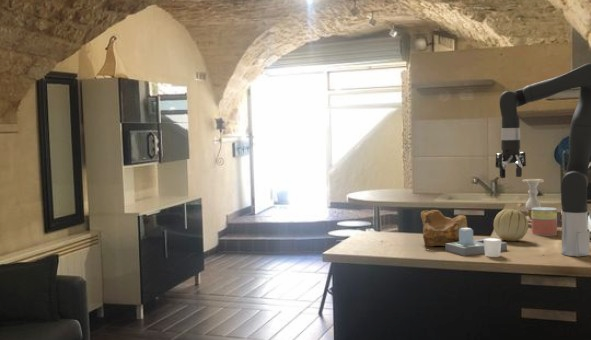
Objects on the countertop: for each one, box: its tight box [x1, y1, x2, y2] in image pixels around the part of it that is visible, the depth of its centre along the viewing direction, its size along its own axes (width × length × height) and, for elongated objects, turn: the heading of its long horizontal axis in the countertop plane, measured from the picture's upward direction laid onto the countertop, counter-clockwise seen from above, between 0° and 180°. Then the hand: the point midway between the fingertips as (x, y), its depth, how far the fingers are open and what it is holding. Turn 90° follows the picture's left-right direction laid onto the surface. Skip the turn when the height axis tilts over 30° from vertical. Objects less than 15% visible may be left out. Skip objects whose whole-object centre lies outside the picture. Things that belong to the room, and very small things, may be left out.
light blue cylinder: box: [459, 227, 474, 246], centre depth 247 cm, size 4×4×10 cm
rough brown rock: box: [420, 209, 469, 248], centre depth 262 cm, size 23×17×15 cm
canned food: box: [531, 206, 558, 237], centre depth 285 cm, size 11×11×12 cm
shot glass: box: [482, 237, 502, 258], centre depth 238 cm, size 7×7×7 cm
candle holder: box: [521, 178, 545, 229], centre depth 306 cm, size 11×11×24 cm
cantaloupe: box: [493, 207, 529, 242], centre depth 269 cm, size 15×15×15 cm
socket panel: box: [444, 238, 508, 257], centre depth 249 cm, size 12×22×4 cm, turn 113°
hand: (510, 177), depth 252 cm, fingers open, 8 cm apart
